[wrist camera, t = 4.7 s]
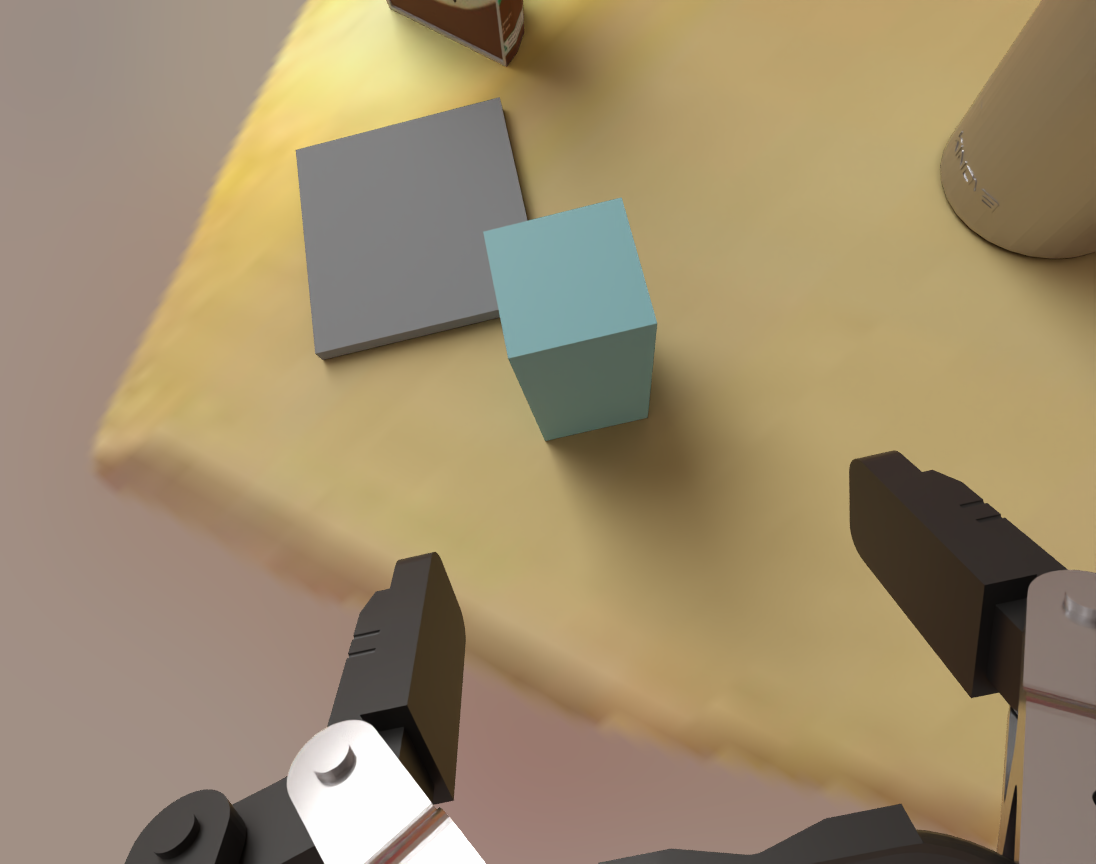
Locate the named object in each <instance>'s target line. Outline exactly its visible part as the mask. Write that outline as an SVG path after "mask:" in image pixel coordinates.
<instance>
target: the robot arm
mask: <svg viewBox="0 0 1096 864" xmlns="http://www.w3.org/2000/svg"><path fill="white" fill-rule="evenodd" d="M940 168H941V183H942V186H943V189H944V192H945V195H946V198H947V200H948V201H949V203H950V205H951V206H952V208H953V209H954V211H955V213H956V214H957V215H958V216H959V217H960V218H961V219H962V220H963V221H964V223H965V224H966V225H967V226H968V227H969V228H970V229H972V230H973V231H975V232H976V233H977V234H979V235H980V236H982V237H983V238H984V239H986V240H987V241H989V242H991V243H994V244H996V245H998V246H1000V247H1002V248H1004V249H1006V250H1009V251H1013V252H1016V253H1020V254H1023V255H1027V256H1033V257H1042V258H1051V259H1054V258H1071V257H1078V256H1082V255H1086V254H1090V253H1094V252H1096V0H1042V1H1041V2H1040V4H1039V5H1038V7H1037V8H1036V10H1035V11H1034V13H1033V14H1032V16H1031V17H1030V19H1029V20H1028V22H1027V23H1026V24H1025V26H1024V27H1023V29H1022V30H1021V32H1020V33H1019V35H1018V36H1017V38H1016V39H1015V41H1014V42H1013V44H1012V45H1011V47H1010V48H1009V50H1008V51H1007V53H1006V54H1005V56H1004V57H1003V59H1002V60H1001V62H1000V63H999V65H998V66H997V68H996V69H995V71H994V72H993V74H992V75H991V77H990V78H989V80H988V81H987V83H986V84H985V86H984V87H983V89H982V90H981V92H980V93H979V95H978V96H977V98H976V99H975V101H974V102H973V104H972V105H971V107H970V108H969V110H968V111H967V113H966V114H965V116H964V117H963V119H962V120H961V122H960V123H959V125H958V126H957V128H956V129H955V131H954V132H953V134H952V135H951V137H950V139H949V141H948V143H947V145H946V147H945V149H944V151H943V156H942V160H941V165H940ZM849 488H850V530H851V535H852V539H853V542H854V545H855V547H856V549H857V551H858V553H859V555H860V557H861V558H862V559H863V561H864V562H865V563H866V565H867V566H868V567H869V568H870V570H871V571H872V572H873V573H874V575H875V576H876V577H877V579H878V580H879V581H880V582H881V584H882V585H883V586H884V588H885V589H886V590H887V591H888V593H889V594H890V595H891V596H892V598H893V599H894V600H895V602H896V603H897V604H898V605H899V607H900V608H901V609H902V610H903V612H904V613H905V614H906V616H907V617H908V618H909V619H910V621H911V622H912V623H913V625H914V626H915V627H916V628H917V630H918V631H919V632H920V633H921V635H922V636H923V637H924V639H925V640H926V641H927V642H928V644H929V645H930V646H931V647H932V649H933V650H934V651H935V653H936V654H937V655H938V656H939V658H940V659H941V660H942V661H943V663H944V664H945V665H946V667H947V668H948V669H949V670H950V672H951V673H952V674H953V676H954V677H955V678H956V679H957V681H958V682H959V683H960V684H961V686H962V687H963V688H964V690H965V691H966V692H967V693H968V695H969V696H970V697H971V698H974V697H979V696H984V695H989V694H994V693H1000V694H1001V695H1002V696H1003V698H1004V699H1005V700H1006V701H1007V702H1008V704H1009V711H1008V717H1007V731H1006V745H1005V760H1004V774H1003V789H1002V803H1001V817H1000V828H999V837H998V845H997V852H995V851H993V850H990V849H988V848H986V847H983V846H981V845H978V844H976V843H973V842H971V841H968V840H964V839H961V838H958V837H954V836H951V835H947V834H942V833H937V832H932V831H926V830H916V829H915V827H914V826H913V824H912V822H911V820H910V818H909V817H908V815H907V813H906V811H905V810H904V808H903V806H902V804H898V805H893V806H888V807H883V808H877V809H872V810H867V811H862V812H857V813H852V814H847V815H842V816H837V817H831V818H826V819H824V820H822V821H820V822H818V823H816V824H814V825H812V826H810V827H809V828H807V829H805V830H803V831H801V832H799V833H797V834H795V835H793V836H791V837H790V838H788V839H786V840H784V841H782V842H780V843H778V844H776V845H775V846H773V847H771V848H769V849H767V850H765V851H763V852H761V853H758V854H753V855H742V854H729V853H718V852H717V853H716V852H705V851H693V850H681V849H667V850H663V851H657V852H652V853H647V854H641V855H636V856H632V857H626V858H621V859H616V860H611V861H606V862H600V863H599V864H1096V573H1093V572H1088V571H1080V570H1068V569H1066V568H1065V567H1064V566H1063V565H1061V564H1060V563H1059V562H1058V561H1057V560H1055V559H1054V558H1053V557H1052V556H1051V555H1049V554H1048V553H1047V552H1046V551H1045V550H1043V549H1042V548H1041V547H1040V546H1039V545H1037V544H1036V543H1035V542H1034V541H1032V540H1031V539H1030V538H1029V537H1028V536H1026V535H1025V534H1024V533H1023V532H1022V531H1020V530H1019V529H1018V528H1017V527H1016V526H1014V525H1013V524H1012V523H1011V522H1010V521H1008V520H1007V519H1006V518H1002V517H1001V514H1000V513H999V512H997V511H996V510H995V509H994V508H993V507H991V506H990V505H989V504H988V503H986V504H985V503H984V502H983V499H982V498H981V497H979V496H978V495H977V494H976V493H974V492H973V491H972V490H971V489H970V488H968V487H967V486H966V485H965V484H964V483H962V482H960V481H958V480H956V479H953V478H951V477H948V476H946V475H944V474H941V473H939V472H937V471H934V470H930V471H925V472H921V471H920V470H919V469H918V468H917V467H916V466H914V465H913V464H912V463H911V462H910V461H909V460H908V459H907V458H905V457H904V456H903V455H902V454H901V453H899V452H898V451H889V452H885V453H880V454H876V455H871V456H867V457H863V458H858V459H854V460H852V462H851V464H850V469H849ZM465 642H466V637H465V626H464V621H463V616H462V612H461V609H460V607H459V604H458V601H457V599H456V596H455V594H454V591H453V589H452V586H451V583H450V581H449V578H448V576H447V573H446V571H445V568H444V566H443V563H442V561H441V558H440V556H439V555H438V554H437V553H436V552H432V553H428V554H423V555H419V556H414V557H410V558H406V559H401V560H398V561H397V563H396V566H395V570H394V574H393V578H392V582H391V586H390V589H386V590H382V591H377V592H375V593H374V595H373V596H372V598H371V599H370V600H369V602H368V603H367V604H366V606H365V607H364V608H363V610H362V611H361V612H360V614H359V618H358V621H357V625H356V628H355V632H354V640H352V642H351V646H350V649H349V653H348V654H349V658H347V660H346V663H345V667H344V670H343V674H342V677H341V681H340V684H339V688H338V691H337V695H336V698H335V701H334V705H333V709H332V712H331V716H330V719H329V722H328V726H327V728H325V729H323V730H322V731H320V732H319V733H318V734H316V735H315V736H314V737H313V738H311V739H310V740H309V741H308V742H307V743H306V744H305V745H304V746H303V747H302V749H301V750H300V751H299V753H298V754H297V756H296V757H295V759H294V760H293V762H292V765H291V767H290V769H289V773H288V776H286V777H285V778H283V779H281V780H280V781H278V782H276V783H274V784H272V785H270V786H268V787H266V788H264V789H262V790H261V791H258V792H256V793H254V794H252V795H251V796H248V797H247V798H245V799H243V800H241V801H239V802H237V803H235V804H233V805H232V804H231V803H230V802H229V800H228V799H227V798H226V797H225V796H224V794H222V793H221V792H218V791H215V790H200V791H196V792H193V793H190V794H188V795H186V796H184V797H181V798H180V799H178V800H176V801H175V802H173V803H171V804H170V805H169V806H167V807H166V808H165V809H163V810H162V811H161V812H160V813H159V814H158V815H157V816H155V818H154V819H153V820H152V821H151V822H150V823H149V824H148V825H147V826H146V827H145V829H144V830H143V831H142V832H141V834H140V835H139V837H138V838H137V840H136V841H135V843H134V845H133V847H132V849H131V851H130V853H129V855H128V857H127V859H126V862H125V864H486V863H485V862H484V861H483V860H482V859H481V857H480V856H479V854H478V853H477V852H476V851H475V849H474V848H473V847H472V845H471V844H470V843H469V842H468V840H467V839H466V838H465V836H464V835H463V834H462V832H461V831H460V830H459V829H458V827H457V826H456V825H455V823H454V822H453V821H452V820H451V818H450V817H449V816H448V815H447V814H446V812H445V811H443V809H441V808H440V807H439V808H438V809H436V808H435V807H434V804H439V803H444V802H449V801H453V800H454V789H455V776H456V762H457V749H458V736H459V723H460V709H461V696H462V683H463V669H464V656H465Z"/></svg>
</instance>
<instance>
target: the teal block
mask: <svg viewBox="0 0 1096 864" xmlns="http://www.w3.org/2000/svg"><path fill="white" fill-rule="evenodd" d="M483 233H484V239H485V244H486V249H487V254H488V259H489V264H490V269H491V274H492V279H493V284H494V289H495V294H496V299H497V304H498V309H499V314H500V319H501V324H502V329H503V334H504V339H505V344H506V349H507V355H508V359H509V361H510V363H511V366H512V368H513V370H514V372H515V375H516V377H517V379H518V381H519V384H520V386H521V388H522V390H523V393H524V395H525V397H526V399H527V401H528V404H529V406H530V408H531V410H532V413H533V415H534V417H535V419H536V422H537V424H538V426H539V428H540V431H541V433H542V435H543V437H544V439H545V441H548V440H552V439H556V438H561V437H565V436H569V435H574V434H578V433H583V432H587V431H591V430H596V429H600V428H605V427H609V426H613V425H618V424H622V423H626V422H631V421H635V420H640V419H644V418H648V409H649V399H650V389H651V379H652V369H653V359H654V350H655V340H656V330H657V321H656V318H655V314H654V310H653V307H652V303H651V300H650V296H649V293H648V289H647V286H646V282H645V279H644V275H643V272H642V268H641V264H640V261H639V257H638V254H637V250H636V247H635V243H634V240H633V236H632V233H631V229H630V226H629V222H628V219H627V215H626V211H625V208H624V204H623V201H622V198H618V199H613V200H609V201H605V202H601V203H597V204H593V205H589V206H585V207H581V208H577V209H573V210H569V211H565V212H561V213H557V214H553V215H549V216H545V217H541V218H537V219H533V220H529V221H525V222H521V223H517V224H513V225H509V226H504V227H500V228H496V229H492V230H488V231H484V232H483Z"/></svg>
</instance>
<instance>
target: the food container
mask: <svg viewBox="0 0 1096 864" xmlns="http://www.w3.org/2000/svg"><path fill="white" fill-rule="evenodd" d="M386 1H387V3H388V5H389V7H390V9H392V10H394V11H396V12H398V13H400V14H402V15H404V16H406V17H408V18H410V19H412V20H414V21H416V22H418V23H420V24H422V25H424V26H426V27H428V28H430V29H432V30H434V31H436V32H438V33H440V34H442V35H444V36H446V37H448V38H450V39H452V40H454V41H456V42H458V43H460V44H462V45H464V46H466V47H468V48H470V49H472V50H474V51H476V52H478V53H480V54H482V55H484V56H486V57H488V58H490V59H492V60H494V61H496V62H498V63H500V64H502V65H504V66H506V67H507V66H508V65H509V63H510V62H511V60H512V59H513V58H514V56H515V55H516V54H517V52H518V49H519V46H520V43H521V40H522V37H523V35H524V12H523V0H386Z"/></svg>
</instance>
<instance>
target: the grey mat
mask: <svg viewBox="0 0 1096 864" xmlns="http://www.w3.org/2000/svg"><path fill="white" fill-rule="evenodd" d="M296 157H297V167H298V178H299V188H300V198H301V209H302V219H303V230H304V240H305V251H306V261H307V271H308V282H309V292H310V303H311V313H312V324H313V334H314V344H315V354H316V355H318V356H319V357H320V358H321V359H322V360H324V359H328V358H332V357H336V356H341V355H345V354H349V353H353V352H357V351H361V350H366V349H370V348H374V347H378V346H382V345H386V344H391V343H395V342H399V341H403V340H407V339H411V338H416V337H420V336H424V335H428V334H432V333H436V332H441V331H445V330H449V329H453V328H457V327H461V326H466V325H470V324H474V323H478V322H482V321H486V320H491V319H495V318H499V317H500V314H499V309H498V304H497V299H496V294H495V289H494V284H493V279H492V274H491V269H490V264H489V259H488V254H487V249H486V244H485V239H484V233H483V232H484V231H488V230H492V229H496V228H500V227H504V226H509V225H513V224H517V223H521V222H525V221H528V220H527V216H526V211H525V207H524V203H523V198H522V194H521V189H520V185H519V180H518V176H517V171H516V167H515V163H514V158H513V154H512V149H511V145H510V140H509V136H508V132H507V127H506V123H505V118H504V114H503V109H502V105H501V101H500V97H499V98H495V99H491V100H487V101H484V102H480V103H476V104H472V105H468V106H464V107H460V108H456V109H453V110H449V111H445V112H441V113H437V114H433V115H429V116H426V117H422V118H418V119H414V120H410V121H406V122H402V123H398V124H395V125H391V126H387V127H383V128H379V129H375V130H371V131H368V132H364V133H360V134H356V135H352V136H348V137H344V138H340V139H337V140H333V141H329V142H325V143H321V144H317V145H313V146H310V147H306V148H302V149H298V150H296Z"/></svg>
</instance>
